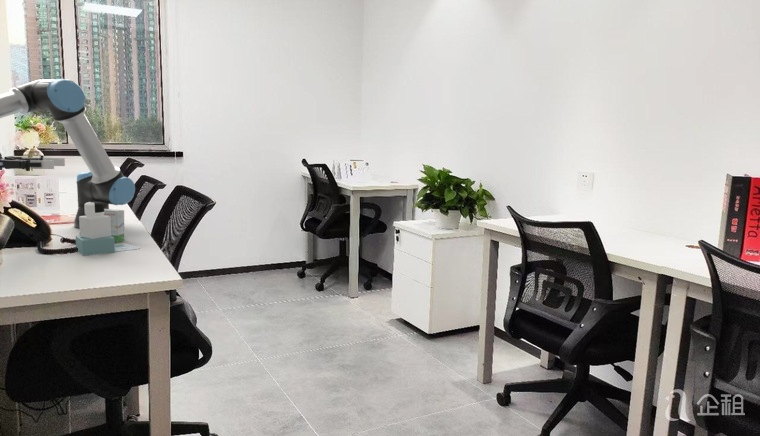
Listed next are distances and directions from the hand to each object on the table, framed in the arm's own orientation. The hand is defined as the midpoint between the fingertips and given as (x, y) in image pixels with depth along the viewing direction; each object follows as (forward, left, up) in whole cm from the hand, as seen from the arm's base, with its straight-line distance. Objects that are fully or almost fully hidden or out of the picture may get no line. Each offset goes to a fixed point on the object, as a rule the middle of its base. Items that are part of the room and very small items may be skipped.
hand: (59, 163), depth 188 cm
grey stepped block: (+4, +9, -25) cm, 27 cm away
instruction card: (+2, +18, -30) cm, 35 cm away
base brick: (+4, +9, -30) cm, 32 cm away
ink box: (-12, +18, -30) cm, 37 cm away
